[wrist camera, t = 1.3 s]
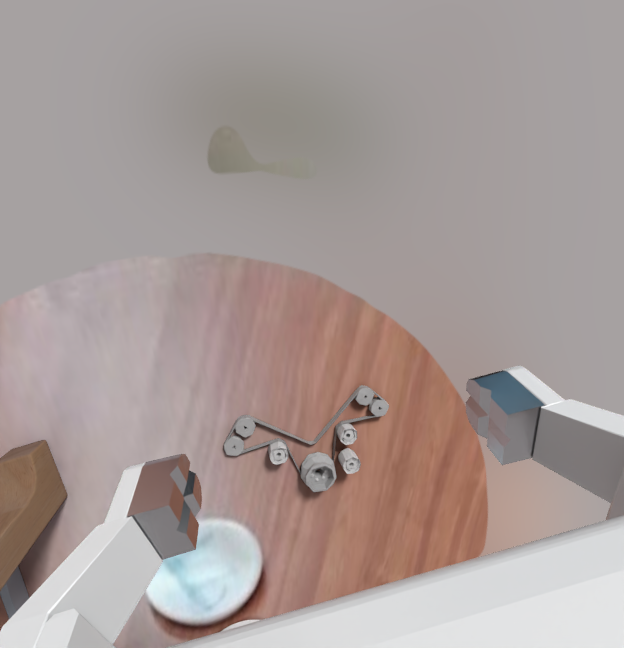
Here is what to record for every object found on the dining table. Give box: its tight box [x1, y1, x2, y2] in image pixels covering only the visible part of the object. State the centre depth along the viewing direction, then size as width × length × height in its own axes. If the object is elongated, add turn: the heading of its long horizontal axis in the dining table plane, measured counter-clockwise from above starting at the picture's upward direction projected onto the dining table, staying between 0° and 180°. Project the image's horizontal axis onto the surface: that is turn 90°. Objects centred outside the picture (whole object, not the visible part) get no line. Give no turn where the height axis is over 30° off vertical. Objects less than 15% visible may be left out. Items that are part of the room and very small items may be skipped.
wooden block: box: [0, 440, 67, 591], centre depth 41 cm, size 9×4×18 cm, turn 14°
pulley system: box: [224, 385, 389, 492], centre depth 58 cm, size 27×5×15 cm
